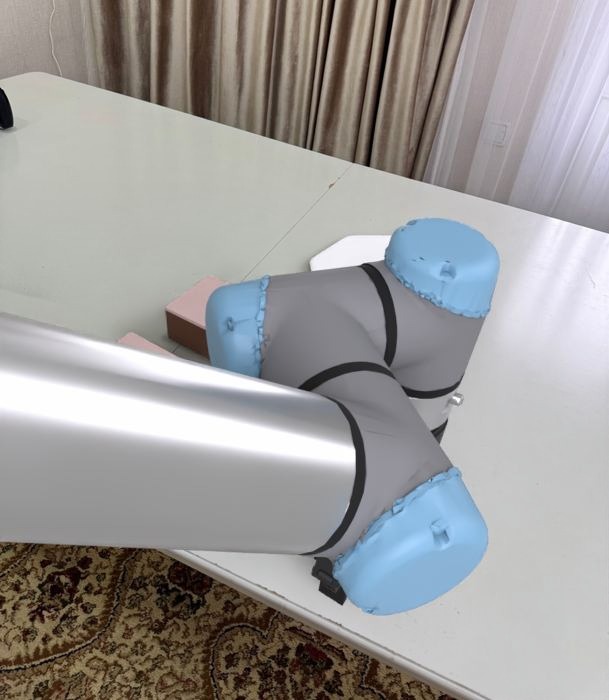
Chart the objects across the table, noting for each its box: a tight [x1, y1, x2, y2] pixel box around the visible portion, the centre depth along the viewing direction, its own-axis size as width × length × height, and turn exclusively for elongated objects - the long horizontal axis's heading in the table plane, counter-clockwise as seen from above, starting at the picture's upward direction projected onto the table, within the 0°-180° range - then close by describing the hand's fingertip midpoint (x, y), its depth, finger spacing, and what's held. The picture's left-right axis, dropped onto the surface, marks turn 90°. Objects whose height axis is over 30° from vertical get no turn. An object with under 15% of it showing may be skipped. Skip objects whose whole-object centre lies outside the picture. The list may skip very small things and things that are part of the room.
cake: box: [164, 274, 231, 361], centre depth 92 cm, size 10×12×6 cm
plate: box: [309, 234, 392, 271], centre depth 106 cm, size 28×28×2 cm
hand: (365, 543), depth 64 cm, fingers open, 13 cm apart
